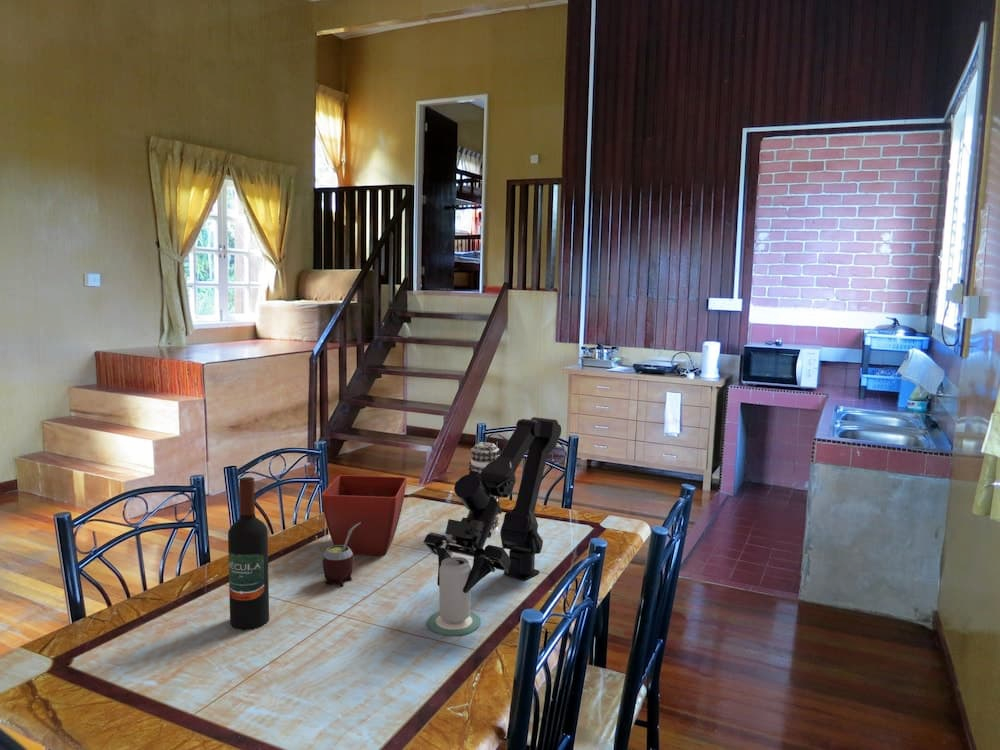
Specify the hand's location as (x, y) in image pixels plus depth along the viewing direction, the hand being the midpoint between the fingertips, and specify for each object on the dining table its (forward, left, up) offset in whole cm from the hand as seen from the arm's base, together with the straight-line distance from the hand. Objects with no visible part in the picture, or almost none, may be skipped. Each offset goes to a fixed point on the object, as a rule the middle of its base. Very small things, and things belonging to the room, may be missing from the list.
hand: (451, 589), depth 146 cm
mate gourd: (+1, -34, -8) cm, 35 cm away
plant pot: (-18, -47, -8) cm, 51 cm away
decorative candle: (-50, -33, -8) cm, 61 cm away
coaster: (-1, 0, -8) cm, 8 cm away
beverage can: (-1, 0, -7) cm, 7 cm away
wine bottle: (+26, -32, -8) cm, 42 cm away
